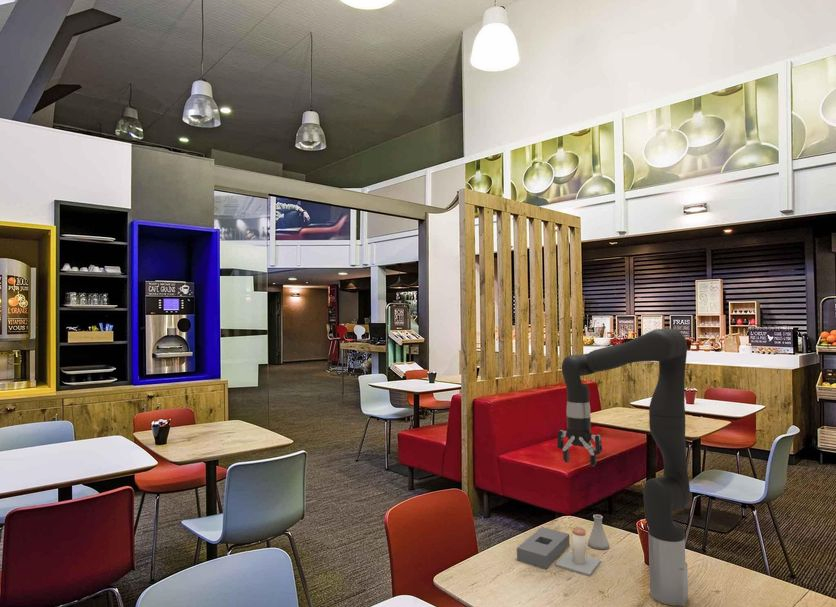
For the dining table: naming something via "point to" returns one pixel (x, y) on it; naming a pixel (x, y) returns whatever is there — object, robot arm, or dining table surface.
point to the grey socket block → (543, 547)
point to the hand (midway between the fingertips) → (579, 464)
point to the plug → (578, 545)
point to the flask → (598, 534)
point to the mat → (582, 569)
